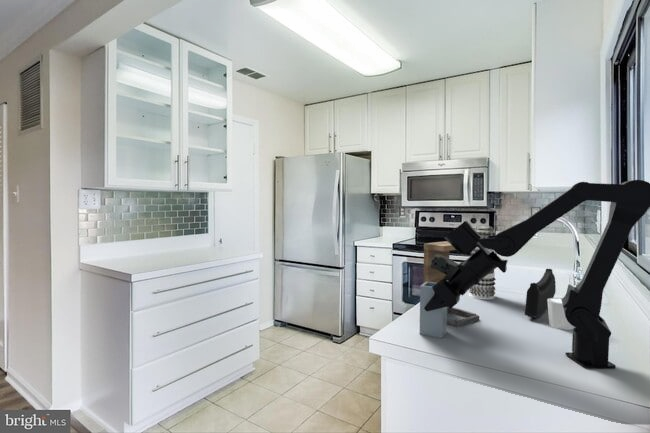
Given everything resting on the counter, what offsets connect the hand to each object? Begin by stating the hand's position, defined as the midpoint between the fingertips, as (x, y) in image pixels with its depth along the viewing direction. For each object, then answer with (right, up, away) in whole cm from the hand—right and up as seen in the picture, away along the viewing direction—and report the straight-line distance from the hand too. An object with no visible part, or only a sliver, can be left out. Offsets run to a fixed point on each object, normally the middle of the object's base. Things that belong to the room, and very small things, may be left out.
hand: (428, 306), depth 95 cm
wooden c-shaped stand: (+10, -6, +11) cm, 16 cm away
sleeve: (+1, -7, 0) cm, 7 cm away
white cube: (+38, -7, +5) cm, 39 cm away
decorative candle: (+29, -5, +35) cm, 46 cm away
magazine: (+42, -6, +21) cm, 47 cm away
